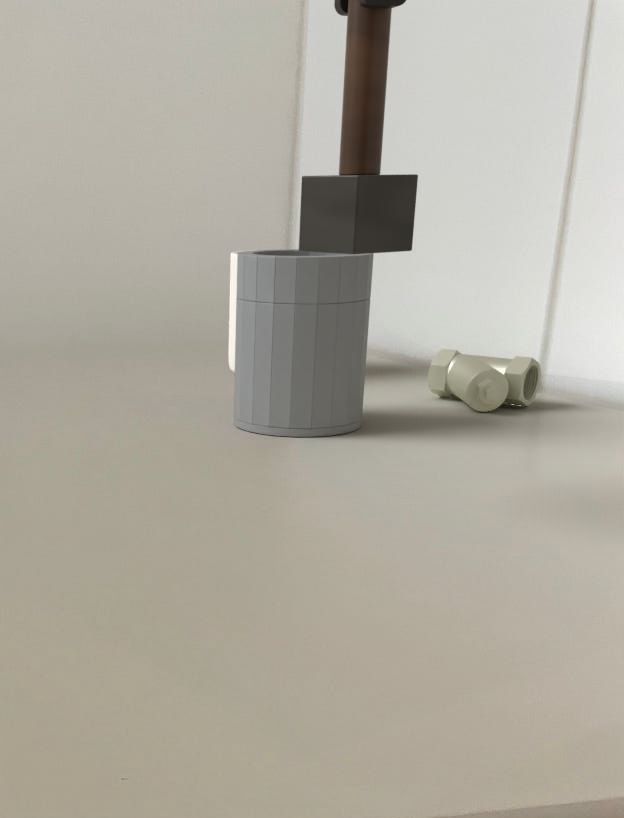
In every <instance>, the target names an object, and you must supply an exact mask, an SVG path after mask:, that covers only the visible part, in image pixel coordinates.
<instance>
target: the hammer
mask: <svg viewBox="0 0 624 818" xmlns="http://www.w3.org/2000/svg"><path fill="white" fill-rule="evenodd" d="M392 10H393V8H365V7H362V6H361V5H360V4H359V2H358V0H348V16H346V18H347V19H346V33H345V34H346V36H345V55H344V73H343V90H342V107H341V109H342V110H341V112H342V113H341V126H340V127H341V128H340V143H339V145H340V146H339V162H338V164H339V165H338V175H337V174H335V175H334V174H333V175H329V174H327V175H302V176H301V186H300V188H301V189H300V210H299V211H300V213H299V231H298V233H299V234H298V236H299V237H298V238H299V239H298V249H299V251H307V252H323V253H339V254H369V253H373V254H383V253H384V254H386V253H401V252H411V251H412V250H413V242H414V231H415V230H414V229H415V217H416V207H417V205H416V204H417V194H418V193H417V192H418V179H419V174H417V173H416V174H413V173H412V174H409V173H407V174H381V169H382V156H383V143H384V142H383V141H384V126H385V111H386V109H385V108H386V98H387V82H388V71H389V69H388V68H389V51H390V42H391V41H390V40H391V26H392V25H391V24H392Z"/></svg>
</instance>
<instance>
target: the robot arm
mask: <svg viewBox="0 0 624 818" xmlns="http://www.w3.org/2000/svg"><path fill="white" fill-rule="evenodd" d="M406 1H407V0H358V2H359V4H360V5H361V6H362V7H365V8H392V9H395V8H397V7H400V6H403V5H404V4H405V3H406ZM333 5H334V9H335V12H336V13H337V14H338V15H340V16H342V17H347V16H348V0H334V3H333Z"/></svg>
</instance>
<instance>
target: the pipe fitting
mask: <svg viewBox="0 0 624 818" xmlns="http://www.w3.org/2000/svg"><path fill="white" fill-rule="evenodd" d="M541 378H542V372H541V364H540V363H539V361H538V360H536V359H535V358H533V357H530V356H519V355H514V357H513V358H507V357H497V356H485V355H477V354H467V353H462V352H460V351H458V349H448V348H440V350H438V351H437V353H436V354H435V355H434V357H433V358H432V360H431V362H430V365H429V368H428V374H427V380H428V381H427V385H428V389H429V391H430V392H431V393H433V394H434V395H436V396H437V397H443V396H445V398H450V397H453V398H455V396H456V397H457V398H459V399H460V400H461V401H462V402H464V403H466V405H468V406H469V407H470V408H472V409H473V410H474V411H477V412H480V413H489V412H493V411H495V410H497V409H498V408H499V407H501V406H502V405H503V404H504V402H505V403H507V404H508V405H510V404H514V405H521V406H528V405H529V406H530V405H531V404H532V403H533V401H534V400H535V398H536V396H537V394H538V392H539V389H540V385H541ZM529 406H528V407H529ZM488 411H489V412H488Z"/></svg>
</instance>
